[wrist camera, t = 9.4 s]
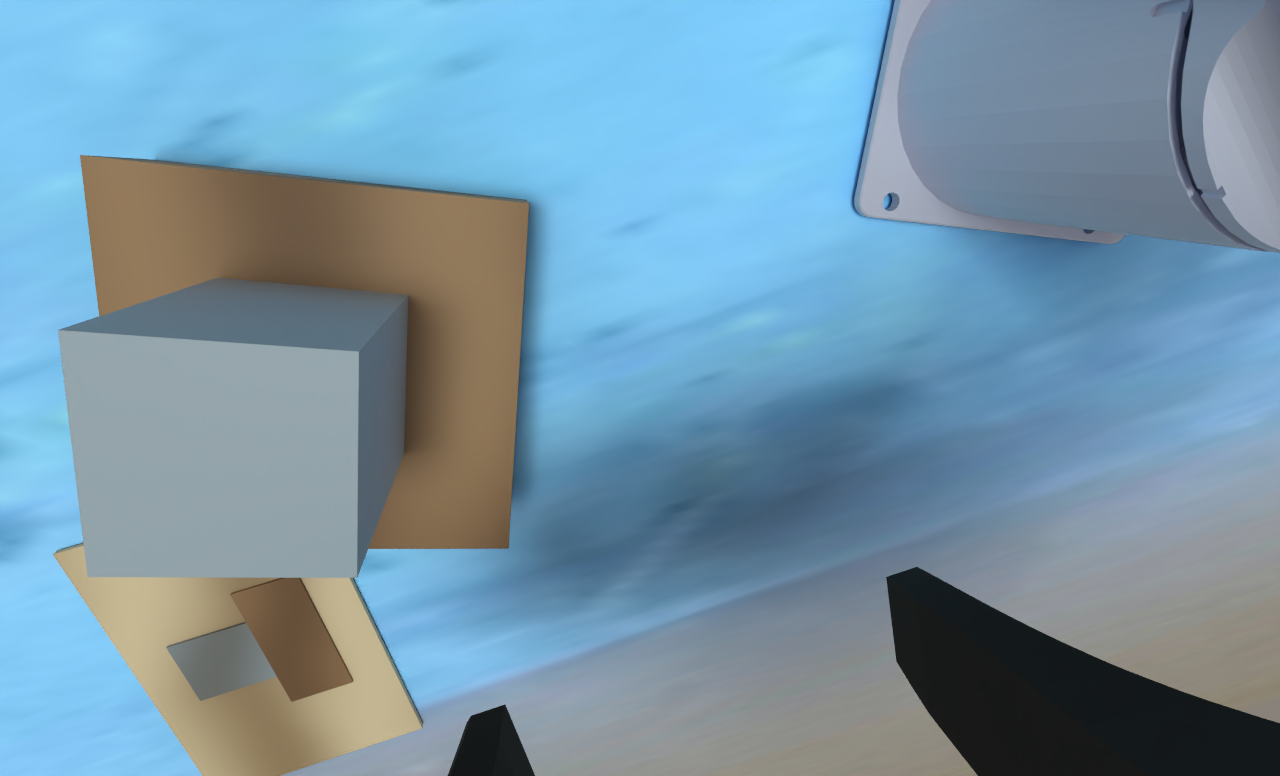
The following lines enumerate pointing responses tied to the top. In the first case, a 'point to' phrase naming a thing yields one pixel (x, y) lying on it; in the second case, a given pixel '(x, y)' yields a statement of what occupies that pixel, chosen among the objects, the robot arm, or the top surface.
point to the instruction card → (253, 665)
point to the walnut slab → (357, 260)
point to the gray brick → (236, 429)
